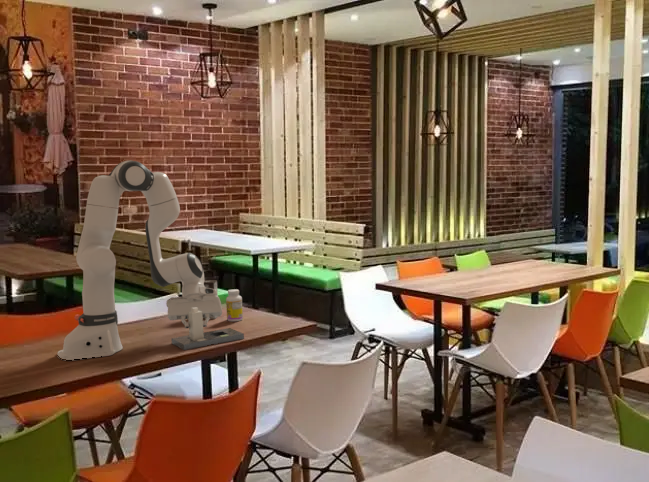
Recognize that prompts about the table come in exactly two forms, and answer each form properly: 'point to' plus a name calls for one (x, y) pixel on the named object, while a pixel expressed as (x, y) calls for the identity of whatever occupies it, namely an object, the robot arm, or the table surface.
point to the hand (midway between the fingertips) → (195, 326)
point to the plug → (195, 324)
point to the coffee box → (212, 285)
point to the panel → (208, 339)
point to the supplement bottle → (234, 306)
